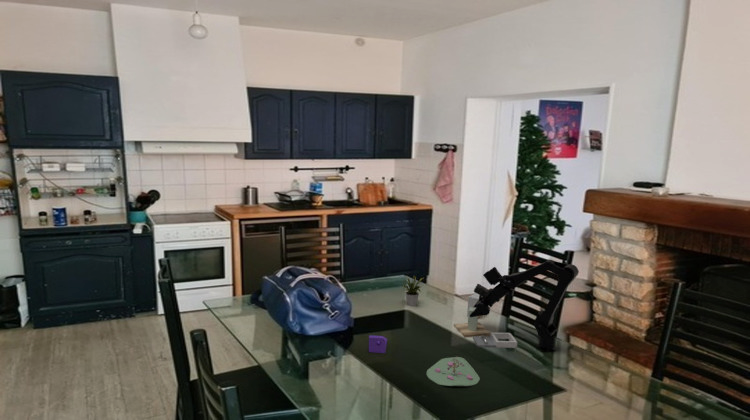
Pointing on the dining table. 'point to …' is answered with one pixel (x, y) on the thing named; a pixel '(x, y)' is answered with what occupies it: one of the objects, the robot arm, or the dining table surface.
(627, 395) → the dining table surface
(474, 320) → the block
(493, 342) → the equipment case
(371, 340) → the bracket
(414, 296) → the house plant
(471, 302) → the small box
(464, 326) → the oak pad
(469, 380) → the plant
